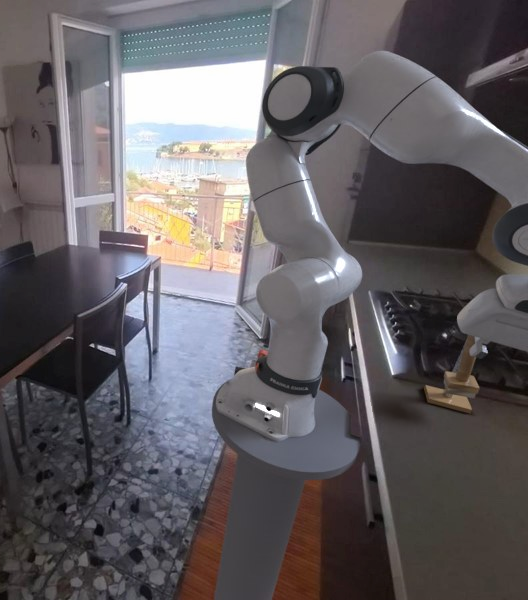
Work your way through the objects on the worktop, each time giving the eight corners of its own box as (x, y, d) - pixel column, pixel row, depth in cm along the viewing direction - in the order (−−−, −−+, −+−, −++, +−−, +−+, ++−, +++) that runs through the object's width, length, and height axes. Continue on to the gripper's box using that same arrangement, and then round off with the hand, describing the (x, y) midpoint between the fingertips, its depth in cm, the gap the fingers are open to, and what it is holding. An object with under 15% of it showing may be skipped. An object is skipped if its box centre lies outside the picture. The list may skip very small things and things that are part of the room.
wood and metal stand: (433, 427, 79) (479, 327, 69) (423, 388, 91) (461, 298, 81) (481, 441, 76) (537, 337, 65) (464, 399, 88) (509, 305, 77)
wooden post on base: (446, 393, 80) (467, 323, 73) (441, 381, 84) (461, 313, 77) (485, 401, 77) (511, 328, 70) (479, 388, 81) (503, 318, 74)
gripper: (672, 315, 48) (584, 375, 58) (488, 271, 55) (435, 331, 65) (700, 346, 44) (600, 406, 53) (497, 295, 51) (439, 356, 60)
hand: (509, 365), depth 59 cm, fingers open, 8 cm apart
